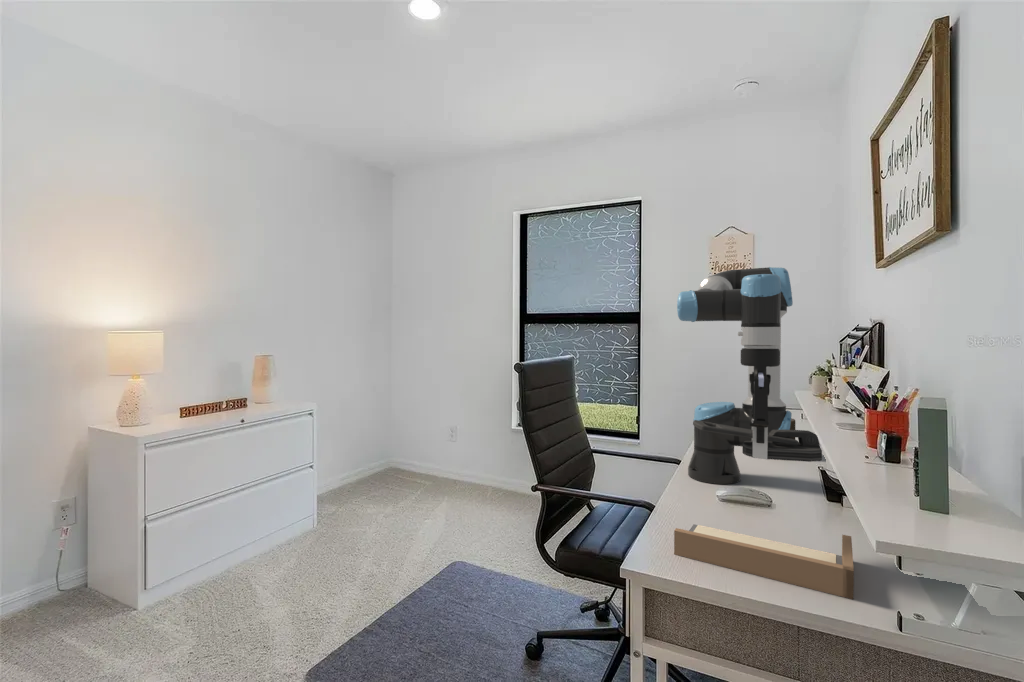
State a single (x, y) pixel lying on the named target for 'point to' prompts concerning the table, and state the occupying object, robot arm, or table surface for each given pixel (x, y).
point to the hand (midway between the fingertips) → (759, 453)
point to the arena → (770, 558)
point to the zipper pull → (774, 442)
